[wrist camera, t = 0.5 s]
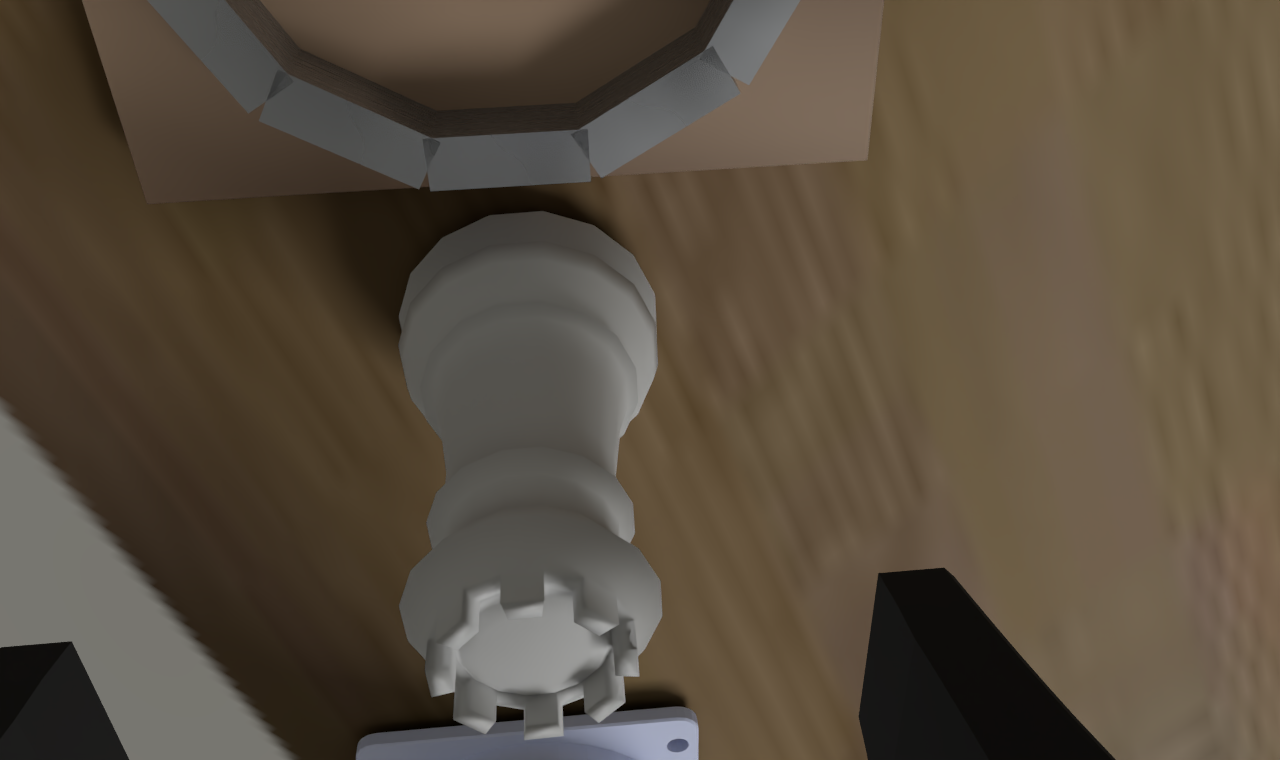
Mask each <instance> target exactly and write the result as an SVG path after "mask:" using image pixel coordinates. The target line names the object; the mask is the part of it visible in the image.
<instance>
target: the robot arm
mask: <svg viewBox="0 0 1280 760" xmlns="http://www.w3.org/2000/svg"><path fill="white" fill-rule="evenodd" d="M859 720H860V725H861V729H862V734H863V738H864V743H865V748H866V752H867V757H868V760H1115V759H1114V757H1113V756H1112V755H1111V754H1110V753H1109V752H1108V751H1107V750H1106V749H1105V748H1104V747H1103V746H1102V745H1101V744H1100V743H1099V742H1098V741H1097V739H1096V738H1095V737H1094V736H1093V735H1092V734H1091V733H1090V732H1089V731H1088V730H1087V729H1086V728H1085V727H1084V726H1083V725H1082V724H1081V722H1080V721H1079V720H1078V719H1077V718H1076V717H1075V716H1074V715H1073V714H1072V713H1071V712H1070V711H1069V709H1068V708H1067V707H1066V706H1065V705H1064V704H1063V703H1062V702H1061V701H1060V699H1059V698H1058V697H1057V696H1056V695H1055V694H1054V693H1053V692H1052V691H1051V690H1050V688H1049V687H1048V686H1047V685H1046V684H1045V683H1044V682H1043V680H1042V679H1041V678H1040V677H1039V676H1038V675H1037V674H1036V672H1035V671H1034V670H1033V669H1032V668H1031V667H1030V666H1029V664H1028V663H1027V662H1026V661H1025V660H1024V659H1023V658H1022V657H1021V655H1020V654H1019V653H1018V652H1017V651H1016V650H1015V648H1014V647H1013V646H1012V645H1011V644H1010V643H1009V641H1008V640H1007V639H1006V638H1005V637H1004V636H1003V634H1002V633H1001V632H1000V631H999V630H998V629H997V627H996V626H995V625H994V624H993V623H992V621H991V620H990V619H989V618H988V617H987V615H986V614H985V613H984V612H983V611H982V610H981V608H980V607H979V606H978V605H977V604H976V602H975V601H974V600H973V599H972V598H971V596H970V595H969V594H968V593H967V592H966V590H965V589H964V588H963V587H962V586H961V584H960V583H959V582H958V581H957V579H956V578H955V577H954V576H953V575H952V574H951V573H949V572H948V571H947V570H946V569H945V568H935V569H924V570H912V571H900V572H888V573H878V581H877V588H876V595H875V602H874V610H873V617H872V624H871V631H870V639H869V646H868V653H867V660H866V668H865V675H864V682H863V689H862V697H861V704H860V711H859ZM698 730H699V729H698V722H697V717H696V714H695V713H694V712H693V711H692V710H691V709H688V708H685V707H679V706H674V707H663V708H652V709H641V710H629V711H618V712H613V713H611V714H610V715H609V716H607V717H606V718H605V719H604V720H602V721H601V722H600V723H598V722H597V721H596V720H594V719H593V718H592V717H591V716H589V715H588V714H584V715H573V716H563V732H564V736H560V737H550V738H540V739H531V740H524V720H516V721H505V722H495V723H494V724H493V726H492V727H491V728H490V729H489V731H488V732H487V733H486V734H483V733H481V732H479V731H477V730H474V729H472V728H470V727H468V726H466V725H460V726H449V727H437V728H426V729H415V730H404V731H392V732H381V733H374V734H369V735H367V736H365V737H363V738H362V739H361V740H360V741H359V742H358V745H357V752H356V760H698ZM0 760H129V759H128V756H127V754H126V752H125V750H124V748H123V746H122V744H121V742H120V740H119V738H118V736H117V734H116V732H115V730H114V728H113V725H112V723H111V721H110V720H109V717H108V715H107V713H106V711H105V709H104V707H103V705H102V703H101V701H100V699H99V697H98V695H97V693H96V691H95V689H94V686H93V684H92V683H91V680H90V678H89V676H88V674H87V672H86V670H85V668H84V666H83V664H82V662H81V660H80V658H79V656H78V654H77V651H76V650H75V648H74V645H73V643H72V642H61V643H49V644H36V645H24V646H14V647H2V648H0Z"/></svg>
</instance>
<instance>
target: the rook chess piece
mask: <svg viewBox="0 0 1280 760" xmlns="http://www.w3.org/2000/svg"><path fill="white" fill-rule="evenodd" d="M399 320H400V325H401V330H402V333H401V337H400V340H399V344H398V347H399V351H400V356H401V361H402V366H403V370H404V375H405V380H406V384H407V388H408V391H409V394H410V397H411V399H412V401H413V402H414V403H415V405H416V406H417V407H418V409H419V410H420V411H421V412H422V414H423V415H424V416H425V418H426V419H427V422H428V423H429V424H430V426H431V427H432V428H433V430H434V431H435V432H436V433H437V435H438V436H439V437H440V439H441V440H442V442H443V450H444V459H445V467H446V483H445V485H444V486H443V487H442V488H441V489H440V490H439V491H438V492H437V493H436V495H435V498H434V501H433V504H432V507H431V510H430V513H429V516H428V519H427V522H426V523H427V528H428V532H429V537H430V541H431V546H432V550H431V551H430V552H429V553H428V554H427V555H426V556H425V557H424V558H423V559H422V560H421V561H420V562H419V563H418V564H417V565H416V566H415V567H414V568H413V569H411V571H410V574H409V577H408V580H407V583H406V586H405V589H404V592H403V595H402V598H401V601H400V604H399V609H400V612H401V616H402V620H403V624H404V628H405V632H406V636H407V640H408V642H409V643H410V644H411V645H412V646H413V647H414V648H415V649H416V650H417V651H418V653H419V654H420V655H421V656H422V657H423V658H424V659H425V660H426V661H425V673H426V678H427V682H428V686H429V690H430V694H431V697H435V696H439V695H443V694H448V693H452V692H455V695H454V711H453V720H455V721H457V722H459V723H461V724H463V725H466V726H468V727H470V728H472V729H474V730H477V731H479V732H481V733H483V734H486V733H487V732H488V731H489V729H490V728H491V727H492V726H493V724H494V723H495V722H496V705H497V706H503V707H510V708H516V709H523V710H524V740H531V739H540V738H550V737H560V736H564V732H563V705H566V704H569V703H571V702H574V701H577V700H579V699H582V698H584V709H585V713H587V714H588V715H589V716H591V717H592V718H593V719H594V720H596V721H597V722H598V723H600V722H601V721H602V720H604V719H605V718H606V717H607V716H609V715H610V714H611V713H613V712H614V711H615V710H616V709H618V708H619V707H620V706H622V705H623V704H624V703H625V702H626V701H625V690H624V679H623V676H638V677H639V664H638V656H639V655H640V654H641V653H642V652H643V651H644V650H645V648H646V646H647V644H648V642H649V640H650V639H651V637H652V635H653V633H654V631H655V629H656V627H657V625H658V623H659V621H660V620H661V618H662V601H661V581H660V579H659V578H658V577H657V575H656V574H655V572H654V571H653V569H652V568H651V566H650V565H649V563H648V562H647V560H646V559H645V557H644V556H643V554H642V553H641V551H640V550H639V548H637V547H635V546H634V545H632V544H630V542H631V540H632V538H633V536H634V534H635V527H634V512H633V503H632V501H631V500H630V498H629V497H628V495H627V494H626V492H625V491H624V489H623V488H622V486H621V484H620V483H619V481H618V480H617V478H616V469H617V459H618V449H619V438H620V437H621V436H623V435H624V433H625V431H626V429H627V427H628V424H629V422H630V421H631V420H632V419H633V418H634V417H635V416H636V415H638V412H639V410H640V408H641V406H642V403H643V401H644V399H645V397H646V394H647V392H648V390H649V388H650V385H651V383H652V381H653V379H654V376H655V372H656V369H657V366H658V356H657V329H656V306H655V294H654V292H653V290H652V288H651V286H650V285H649V283H648V281H647V279H646V277H645V275H644V274H643V272H642V270H641V268H640V266H639V264H638V263H637V261H636V259H635V257H634V255H633V254H631V253H630V252H629V251H627V250H626V249H625V248H623V247H622V246H621V245H619V244H618V243H617V242H615V241H614V240H613V239H611V238H610V237H609V236H608V235H606V234H605V233H604V232H602V231H601V230H600V229H598V228H597V227H596V226H594V225H591V224H588V223H584V222H581V221H577V220H573V219H570V218H566V217H563V216H559V215H556V214H552V213H549V212H545V211H536V212H524V213H511V214H499V215H489V216H487V217H484V218H482V219H480V220H478V221H476V222H474V223H472V224H470V225H468V226H466V227H463V228H461V229H459V230H457V231H455V232H453V233H451V234H449V235H447V236H445V237H442V238H441V239H440V241H439V242H438V243H437V244H436V245H435V246H434V247H433V249H432V250H431V251H430V252H429V253H428V254H427V255H426V256H425V258H424V259H423V260H422V261H421V262H420V263H419V264H418V266H417V267H416V268H415V269H414V270H413V271H412V272H411V274H410V277H409V281H408V284H407V288H406V291H405V295H404V299H403V302H402V306H401V310H400V313H399Z"/></svg>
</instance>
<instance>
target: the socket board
mask: <svg viewBox="0 0 1280 760" xmlns="http://www.w3.org/2000/svg"><path fill="white" fill-rule="evenodd" d="M82 2H83V5H84V8H85V12H86V15H87V18H88V21H89V24H90V27H91V30H92V33H93V37H94V40H95V43H96V46H97V49H98V52H99V55H100V58H101V61H102V65H103V68H104V71H105V74H106V77H107V80H108V83H109V86H110V90H111V93H112V96H113V99H114V102H115V105H116V108H117V111H118V115H119V118H120V121H121V124H122V127H123V130H124V133H125V136H126V139H127V143H128V146H129V149H130V152H131V155H132V158H133V161H134V164H135V168H136V171H137V174H138V177H139V180H140V183H141V186H142V189H143V193H144V196H145V199H146V202H147V204H157V203H173V202H189V201H206V200H222V199H239V198H255V197H271V196H288V195H304V194H321V193H337V192H353V191H370V190H386V189H403V188H417V189H419V188H420V187H430V191H445V190H462V189H478V188H494V187H511V186H527V185H543V184H560V183H576V182H591V177H599V176H600V177H601V178H603V177H604V176H616V175H632V174H648V173H665V172H681V171H698V170H714V169H730V168H747V167H763V166H780V165H796V164H812V163H829V162H845V161H862V160H867V159H868V149H869V140H870V130H871V121H872V111H873V102H874V92H875V82H876V73H877V63H878V54H879V44H880V35H881V25H882V16H883V6H884V0H82Z"/></svg>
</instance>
